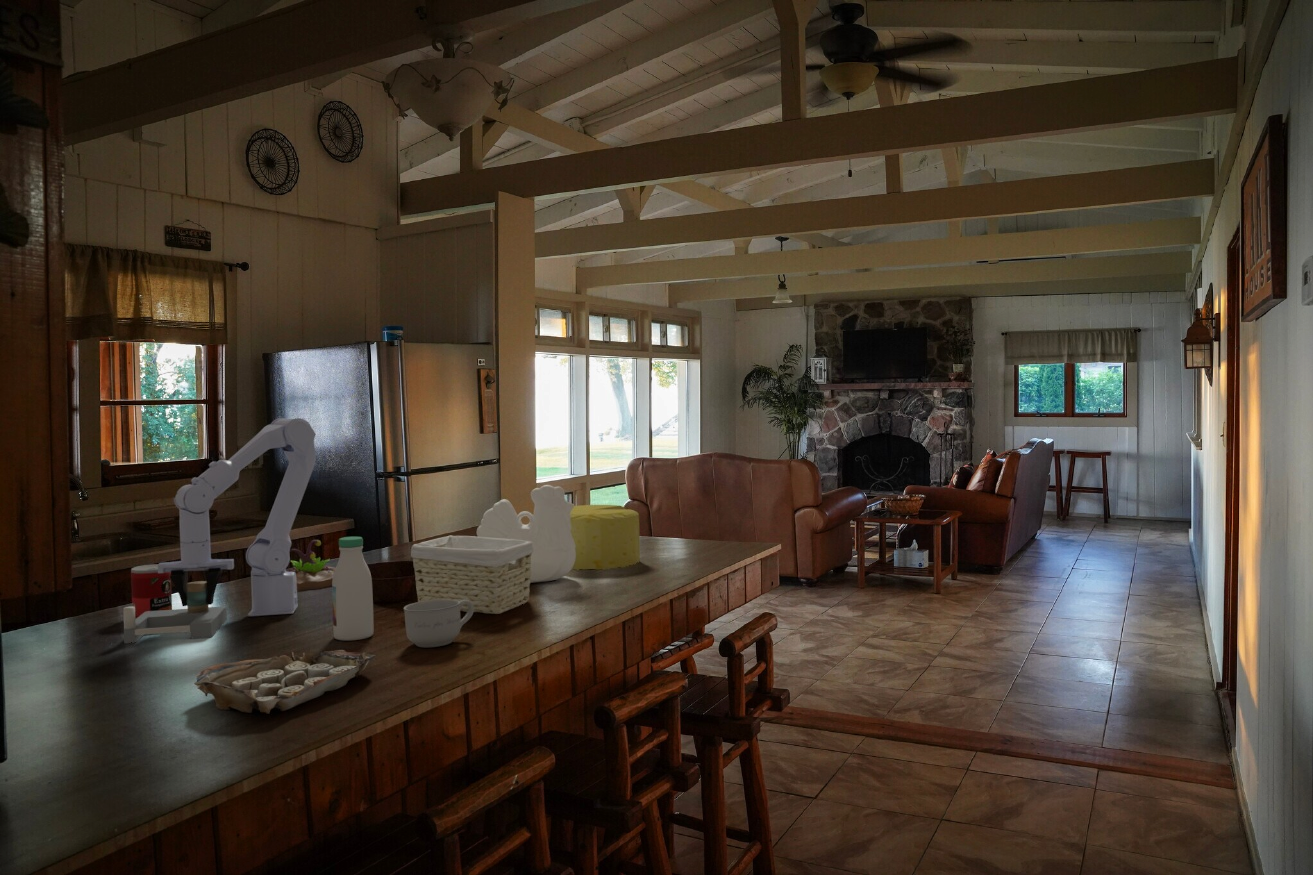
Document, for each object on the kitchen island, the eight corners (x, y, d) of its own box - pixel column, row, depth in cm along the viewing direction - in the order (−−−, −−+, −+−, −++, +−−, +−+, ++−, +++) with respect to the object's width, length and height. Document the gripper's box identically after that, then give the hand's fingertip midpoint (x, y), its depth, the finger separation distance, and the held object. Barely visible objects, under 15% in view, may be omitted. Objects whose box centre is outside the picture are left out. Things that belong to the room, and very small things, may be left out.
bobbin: (211, 607, 203) (210, 580, 202) (206, 612, 198) (205, 584, 198) (189, 609, 202) (188, 581, 201) (184, 613, 197) (183, 585, 197)
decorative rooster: (584, 575, 247) (582, 481, 246) (563, 588, 232) (561, 488, 231) (496, 572, 254) (494, 480, 252) (470, 584, 238) (468, 487, 237)
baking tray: (297, 663, 173) (296, 633, 173) (398, 671, 166) (397, 641, 166) (164, 715, 145) (162, 680, 145) (278, 728, 138) (277, 691, 137)
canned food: (156, 620, 204) (153, 570, 204) (124, 619, 206) (122, 570, 205) (180, 612, 212) (178, 564, 211) (149, 611, 213) (147, 563, 213)
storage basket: (537, 602, 218) (536, 538, 217) (499, 617, 203) (497, 550, 202) (452, 594, 227) (450, 534, 226) (409, 609, 212) (407, 544, 212)
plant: (363, 582, 244) (361, 540, 243) (288, 594, 231) (286, 549, 230) (331, 572, 259) (329, 532, 258) (258, 583, 245) (256, 540, 245)
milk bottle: (381, 633, 191) (378, 535, 190) (357, 642, 184) (354, 541, 183) (349, 630, 194) (346, 534, 193) (325, 640, 186) (321, 540, 185)
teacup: (411, 654, 175) (410, 612, 175) (399, 641, 185) (397, 601, 184) (484, 644, 181) (483, 603, 181) (468, 631, 191) (467, 593, 191)
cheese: (654, 556, 275) (654, 505, 274) (614, 573, 251) (613, 517, 250) (576, 551, 285) (575, 502, 285) (531, 566, 262) (529, 513, 261)
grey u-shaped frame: (226, 619, 204) (225, 588, 204) (211, 637, 189) (209, 603, 189) (146, 625, 200) (144, 592, 200) (123, 644, 185) (121, 609, 185)
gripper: (152, 545, 194) (155, 610, 194) (228, 542, 197) (230, 606, 198) (161, 540, 200) (164, 603, 201) (234, 537, 204) (237, 599, 205)
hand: (197, 604), depth 200 cm, fingers closed on bobbin, 4 cm apart
